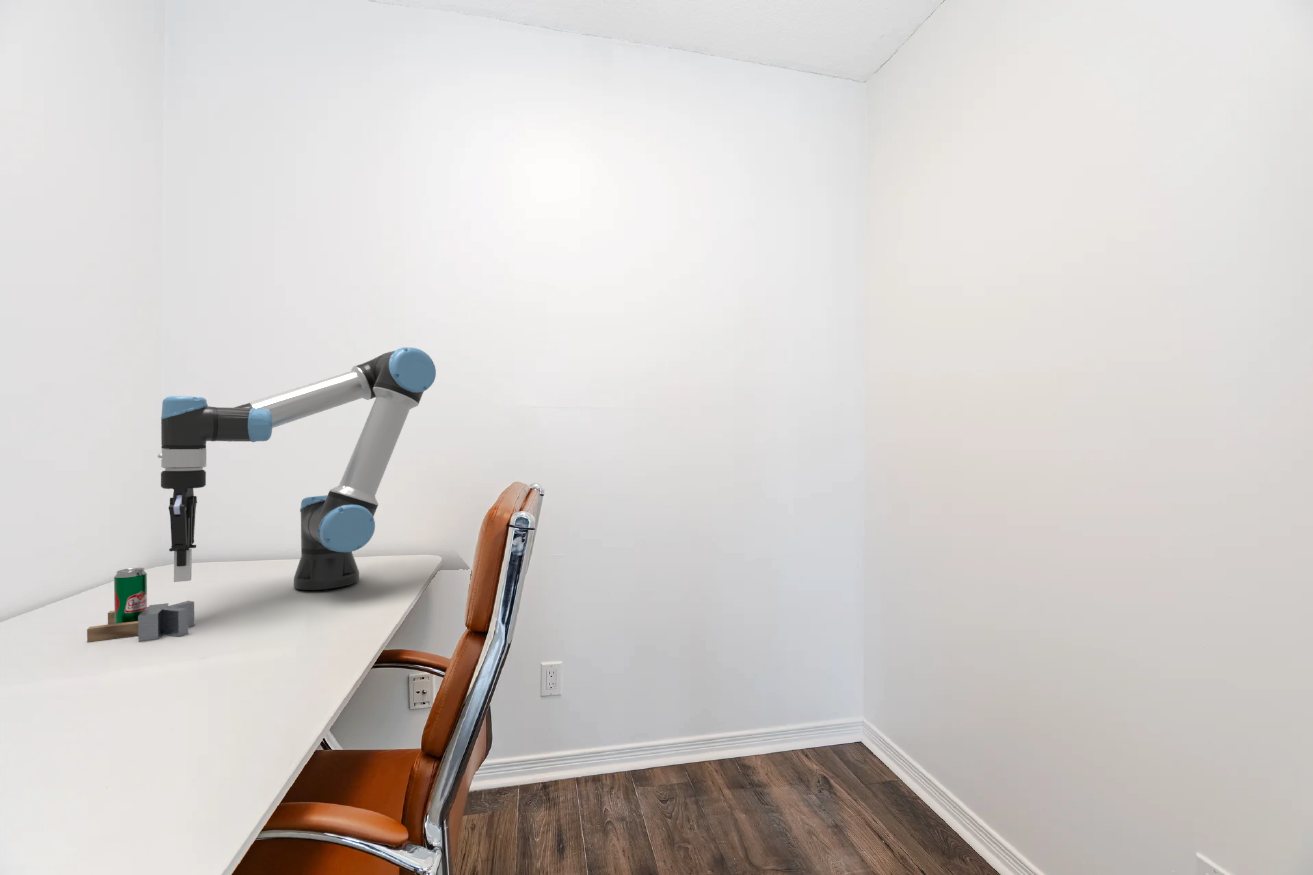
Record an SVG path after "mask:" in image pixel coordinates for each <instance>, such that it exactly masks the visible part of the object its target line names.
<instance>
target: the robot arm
mask: <svg viewBox="0 0 1313 875" xmlns="http://www.w3.org/2000/svg"><path fill="white" fill-rule="evenodd" d="M436 371H437V369H436V366H435V362H434V361H433V359H432V358H431V357H430V355H429V354H428V353H426V352H425V351H423V350H422V349H420V348H416V347H409V346H408V347H400V348H397V349H396V350H393V351H388V352H385V353H382V354H381V355H379V356H377V357H374V358H372V359H369V360H368V361H366V362H363V363H360V364H358V365H354V366H353V367H352V368H351V369H350V371H348V372H344V373H341V374H338V375H334V376H331V377H328V378H326V379H323V380H322V379H321V380H318V381H315V382H312V383H308V384H306V385H302V386H298V387H296V388H293V389H292V388H291V389H289V390H286V391H282V392H280V393H276V394H273V395H269V396H267V397H264V398H260V399H257V400H254V401H251V402H248V403H245V404H241V405H237V406H234V407H217V406H209V405H208V403H207V399H206V398H205V397H202V396H185V395H170V396H169V395H168V396H166V397H165V398H164V399H163V400H162V402H161V403H162V406H161V407H162V408H161V417H160V420H161V421H160V423H161V424H160V425H161V426H160V429H161V430H160V431H161V432H160V433H161V434H160V435H161V436H160V437H161V438H160V439H161V443H160V444H161V453H158V455H157V457H158V458H159V459H161V460H160V462H161V463H160V464H161V466H160V468H162V469H164V470H162V471H161V472H160V487H161V488H162V489H163V490H165V489H167V490H171V489H172V490H173V494H172V497H170V498H169V505H168V511H169V519H170V540H171V546H170V547H169V552H173V582H174V583H177V582H179V583H180V582H191V580H192V571H193V570H192V564H193V563H192V558H193V556H192V553H193V549H196V548H197V544H194V543H195V529H196V528H195V526H196V513H197V512H196V509H197V504H198V501H197V500H198V498H197V497H198V496H197V495H194V494H195V492H194V489H200V488H204V487H206V486H207V484H206V483H207V471H206V470H205V469H204V468H206V467H207V442H230V443H231V442H252V443H255V442H267V441H269V440H270V439H271V436H272V434H273V433H272V432H273V429H274V428H277V427H279V426H283V425H285V424H288V423H292V422H295V421H297V420H300V419H304V418H306V417H309V416H312V415H315V414H319V413H322V412H324V411H328V410H331V409H333V408H336V407H339V406H342V405H345V404H348V403H351V402H355V401H358V400H360V399H364V400H367V401H370V400H372V399H374V398H375V399H374V400H373V403H372V406H371V408H370V410H369V413H368V416H367V418H366V420H365V423H364V425H363V428H362V429H361V433H360V434H359V437H358V439H357V441H356V444H355V447H354V448H353V451H352V454H351V455H350V459H349V461H348V463H347V465H346V468H345V471H344V473H343V474H342V477H341V480H340V482H339V484H338V485H337V486H335V487H333V488H331V489H329V491H328V494H327V495H318V496H317V495H316V496H307V497H303V499H302V500H301V502H300V508H299V513H300V546H301V547H300V548H301V551H300V552H301V553H300V554H301V555H300V558H299V562H298V565H297V568H296V570H295V573H294V576H293V588H295V589H297V590H304V591H305V590H306V591H310V590H311V591H312V590H313V591H317V590H329V589H334V588H341V587H346V586H349V585H352V584H355V583H357V582H358V581H359V580H360V571H359V568H358V565H357V562H356V560H355V557H354V555H353V552H355V551H357V550H358V551H359V550H360V549H362V548H363V547H365V545H367V544H368V543H369V542H370V540H371V539H372V538H373V536H374V534H375V531H376V530H375V529H376V520H375V514H376V512H377V509H378V507H379V502H378V500H377V498H376V495H377V491H378V488H380V484H381V483H382V479H383V477H384V474H385V471H386V470H387V466H388V465H389V462H390V459H391V457H392V454H393V452H394V449H395V447H396V445H397V443H398V439H399V437H400V436H401V432H402V429H403V427H404V425H405V422H406V420H407V417H408V415H409V413H410V410H412V409H413V408H414V409H415V408H416V407H418V406H419V404H420V401H421V400H422V396H423V394H424V392H426V391H427V390H428V389H429V388H431V386H432V385H433V384H434V382H435V380H436V377H437V376H436V375H437V372H436Z"/></svg>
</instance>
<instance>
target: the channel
mask: <svg viewBox="0 0 1313 875" xmlns="http://www.w3.org/2000/svg"><path fill="white" fill-rule="evenodd" d="M129 637H138V621H135V622H126V623H118V624H115V610H110V611H108V612H107V624H102V625H95V626H89V627H88V628H87V629H86V642H87V643H90V642H98V641H106V640H107V641H108V640H113V639H115V640H116V639H123V638H129Z"/></svg>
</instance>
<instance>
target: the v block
mask: <svg viewBox="0 0 1313 875" xmlns="http://www.w3.org/2000/svg"><path fill="white" fill-rule="evenodd" d="M194 626H195V601H193V600H192V601H191V600H185V601H183V602H178V603H174V604H171V605H169V603H168V602H166V603H157V604H150V605H147V608H146V609H145V610H144V611H143V612H142V613H141V614H140V615H138V636H137V637H138V639H137V640H138V642H147V641H153V640H159V639H160V638H161V637H162V636H163V635H164V636H171V637H178V638H179V637H182V636H185V635H189V628H191V627H194Z"/></svg>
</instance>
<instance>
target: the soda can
mask: <svg viewBox="0 0 1313 875" xmlns="http://www.w3.org/2000/svg"><path fill="white" fill-rule="evenodd" d="M147 578H148V574H147V572H146V571H145V567H133V568H132V567H131V568H124V569H119V570H117V571H116V574H115V575H114V576H113V588H114V589H113V591H114V596H113V597H114V602H113V603H114V611H115V624H118V623H126V622H135V621H138V615H140V614H141V613H142V612H143V611H144V610H145V609H146V608H147V607H148V579H147Z"/></svg>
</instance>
